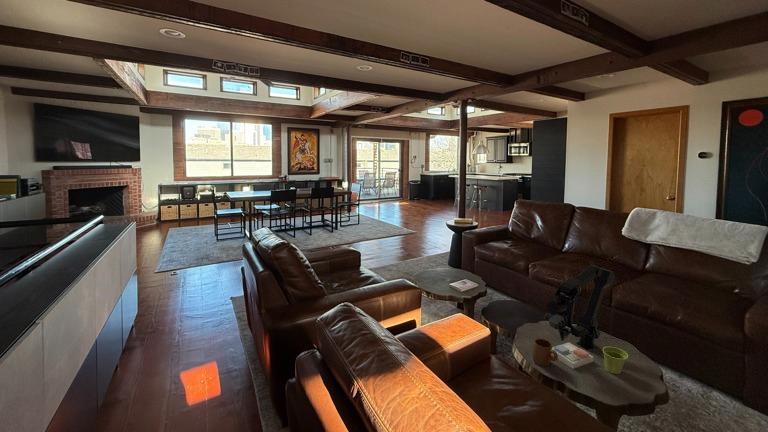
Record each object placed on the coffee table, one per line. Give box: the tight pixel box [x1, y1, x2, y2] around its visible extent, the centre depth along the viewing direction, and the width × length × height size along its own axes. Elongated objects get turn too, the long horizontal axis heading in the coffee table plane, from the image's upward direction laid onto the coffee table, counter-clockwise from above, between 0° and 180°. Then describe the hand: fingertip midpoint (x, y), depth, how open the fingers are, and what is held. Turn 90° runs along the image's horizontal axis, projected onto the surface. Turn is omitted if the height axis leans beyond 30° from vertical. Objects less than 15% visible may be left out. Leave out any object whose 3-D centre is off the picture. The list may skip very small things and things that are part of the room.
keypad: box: [551, 342, 594, 370], centre depth 169 cm, size 13×13×3 cm
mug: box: [532, 338, 558, 367], centre depth 163 cm, size 12×8×9 cm, turn 22°
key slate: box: [553, 344, 569, 355], centre depth 170 cm, size 4×4×2 cm
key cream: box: [564, 344, 577, 352], centre depth 172 cm, size 4×4×2 cm
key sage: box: [565, 353, 580, 362], centre depth 165 cm, size 4×4×2 cm
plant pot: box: [602, 346, 629, 375], centre depth 159 cm, size 9×9×9 cm
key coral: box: [573, 347, 590, 359], centre depth 167 cm, size 4×4×2 cm
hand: (562, 340), depth 169 cm, fingers closed
